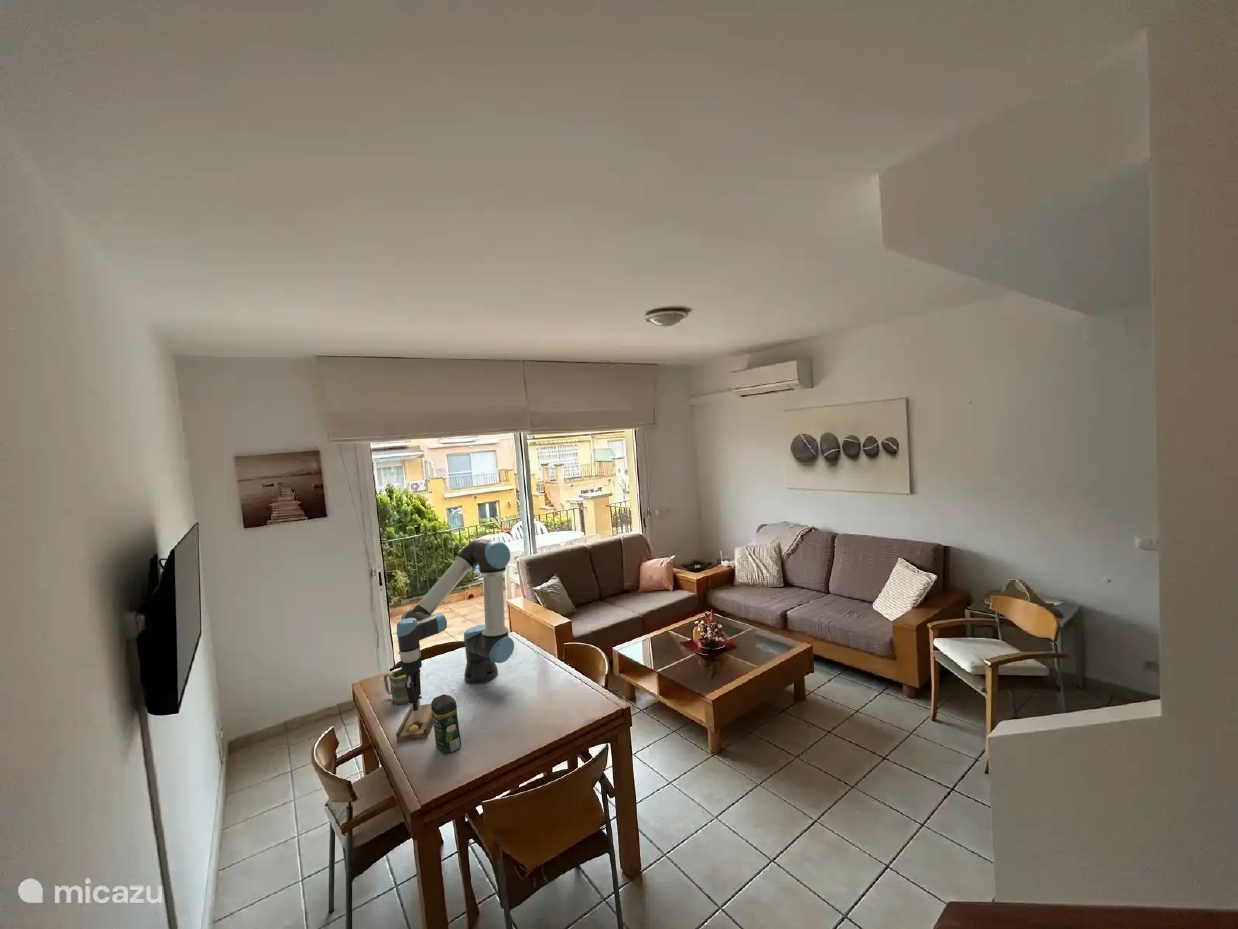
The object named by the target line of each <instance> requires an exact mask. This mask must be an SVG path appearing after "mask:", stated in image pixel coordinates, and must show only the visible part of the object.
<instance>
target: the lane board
mask: <svg viewBox="0 0 1238 929" xmlns="http://www.w3.org/2000/svg"><path fill="white" fill-rule="evenodd" d="M420 707H421V717H419V718H413V711H412V704H410V707H409V709H408V710H407V712H406V714H405V716H404V718H403V720H402V722H401V724H400V725H399V726H398V730H397V731H396V733H395V737H396V743H397V744H401V743H406V742H407V743H408V742H414V741H419V740H420V741H421V740H426V739H428V738H429V735H430V734H431V733H430V732H431V730H432V728H433V727H434V723H433V716H432V710H431V703H425V704H420ZM412 725H417V726H418V728H419V730H416V731H409V728H410V726H412Z"/></svg>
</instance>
